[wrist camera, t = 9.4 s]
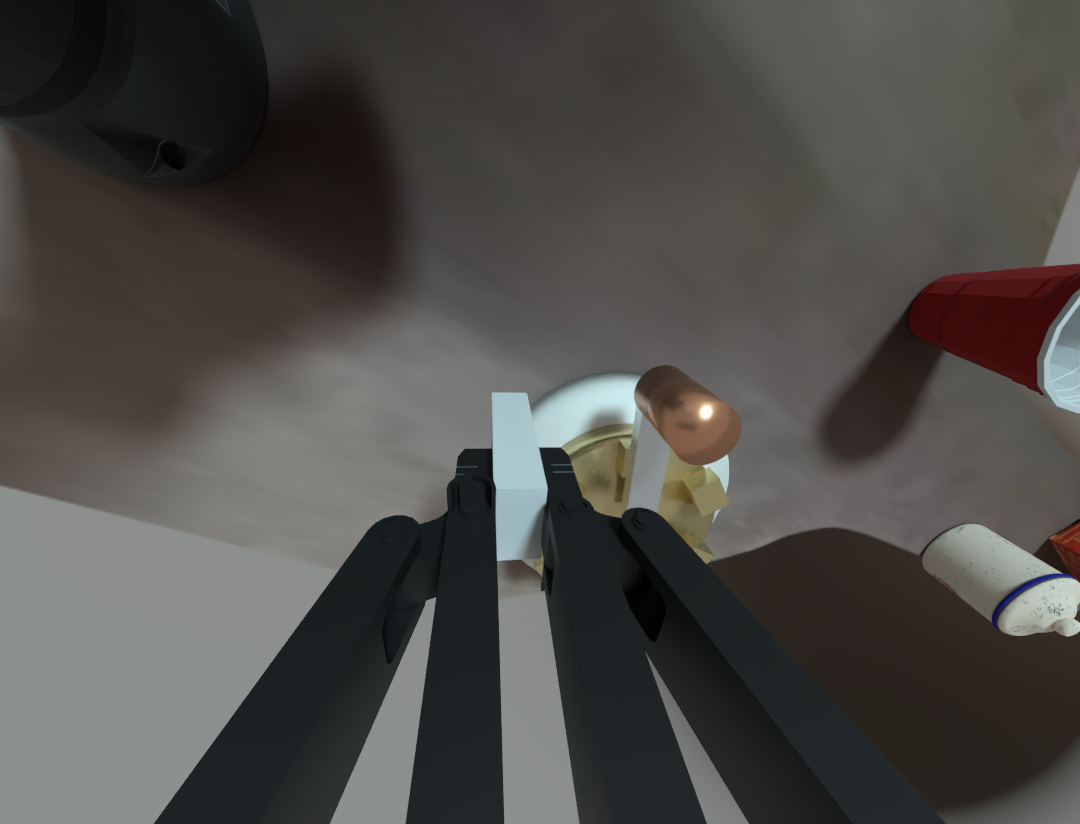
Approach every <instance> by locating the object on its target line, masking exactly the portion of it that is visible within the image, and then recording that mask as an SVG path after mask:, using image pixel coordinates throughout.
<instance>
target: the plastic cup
mask: <svg viewBox="0 0 1080 824" xmlns="http://www.w3.org/2000/svg"><path fill="white" fill-rule="evenodd" d="M908 322H909V328H910V330H911V331H912V333H913V334H914V335H916V336H918V337H919V338H920V339H922V340H924V341H927V342H929V343H931V344H934V345H936V346H938V347H941V348H943V349H945V351H947V352H949V353H951V354H954V355H956V356H959V357H961V358H963V359H966V360H968V361H970V362H973V363H975V364H977V365H980V366H982V367H984V368H987V369H989V370H991V371H994V372H996V373H998V374H1001V375H1003V376H1005V377H1008V378H1010V379H1012V381H1014V382H1017V383H1019V384H1022V385H1024V386H1027V387H1028V389H1031V390H1033V391H1036V392H1039V393H1040V394H1041V395H1043V396H1045V398H1047V400H1048V401H1049V402H1050V403H1052V404H1053V405H1055V406H1058V407H1061V408H1064V409H1067V410H1070V411H1073V412H1076V413H1080V264H1070V265H1057V266H1044V267H1032V268H1019V269H1006V270H998V271H990V272H976V273H962V274H954V275H950V276H943V277H941V278H939V279H937V280H935V281H933V282H932V283H930V284H929V285H928V286H927V287H926V288H925V289H924V290H923V291H921V292H920V294H919V295H918V297H917V298H916V300H915V301H914V303H913V304H912V307H911V310H910V313H909V316H908Z"/></svg>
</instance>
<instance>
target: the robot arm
mask: <svg viewBox="0 0 1080 824" xmlns="http://www.w3.org/2000/svg"><path fill="white" fill-rule="evenodd" d="M266 93H267V75H266V64H265V57H264V51H263V46H262V41H261V37H260V33H259V30H258V26H257V23H256V20H255V17H254V14H253V12H252V9H251V6H250V4H249V1H248V0H0V124H1V125H3V126H5V127H7V128H9V129H11V130H13V131H15V132H17V133H19V134H21V135H23V136H25V137H27V138H29V139H31V140H33V141H34V142H36V143H38V144H40V145H42V146H44V147H46V148H48V149H50V150H52V151H54V152H56V153H58V154H60V155H62V156H64V157H66V158H68V159H70V160H72V161H74V162H76V163H78V164H80V165H83V166H85V167H88V168H90V169H93V170H96V171H99V172H101V173H104V174H107V175H110V176H114V177H118V178H122V179H127V180H132V181H138V182H145V183H151V184H158V185H167V186H186V185H194V184H199V183H203V182H206V181H209V180H212V179H214V178H217V177H219V176H221V175H222V174H224V173H226V172H227V171H229V170H230V169H232V168H233V167H234V166H235V165H236V164H237V163H238V162H239V161H240V160H241V159H242V158H243V157H244V156H245V155H246V153H247V152H248V151H249V149H250V148H251V146H252V144H253V143H254V141H255V139H256V137H257V134H258V132H259V129H260V126H261V123H262V120H263V115H264V111H265V104H266ZM447 504H448V511H447V512H446V513H445V514H444V515H443V516H441V517H439V518H437V519H435V520H433V521H430V522H426V523H423V524H418V522H417V521H415V520H414V519H413V518H411V517H408V516H404V515H395V516H391V517H387V518H384V519H382V520H380V521H378V522H376V523H375V524H374V525H373V526H372V527H371V528H370V529H369V530H368V531H367V532H366V534H365V535H364V537H363V538H362V539H361V541H360V542H359V543H358V545H357V546H356V547H355V549H354V550H353V552H352V553H351V554H350V556H349V557H348V558H347V560H346V561H345V563H344V564H343V565H342V567H341V568H340V569H339V571H338V572H337V574H336V575H335V576H334V578H333V579H332V580H331V582H330V583H329V585H328V586H327V587H326V589H325V590H324V591H323V593H322V594H321V595H320V597H319V598H318V600H317V601H316V602H315V604H314V605H313V606H312V608H311V609H310V611H309V612H308V613H307V615H306V616H305V617H304V619H303V620H302V621H301V623H300V624H299V626H298V627H297V628H296V630H295V631H294V633H293V634H292V635H291V637H290V638H289V639H288V641H287V642H286V643H285V645H284V646H283V648H282V649H281V650H280V652H279V653H278V654H277V656H276V657H275V658H274V660H273V661H272V663H271V664H270V665H269V667H268V668H267V669H266V671H265V672H264V674H263V675H262V676H261V678H260V679H259V680H258V682H257V683H256V685H255V686H254V687H253V689H252V690H251V691H250V693H249V694H248V695H247V697H246V698H245V700H244V701H243V702H242V704H241V705H240V706H239V708H238V709H237V711H236V712H235V714H234V715H233V716H232V718H231V719H230V720H229V722H228V723H227V724H226V726H225V727H224V729H223V730H222V731H221V732H220V734H219V735H218V737H217V738H216V740H215V741H214V742H213V744H212V745H211V746H210V748H209V749H208V750H207V752H206V753H205V755H204V756H203V757H202V759H201V760H200V761H199V763H198V764H197V766H196V767H195V768H194V770H193V771H192V772H191V774H190V775H189V776H188V778H187V779H186V780H185V782H184V783H183V785H182V786H181V787H180V789H179V790H178V791H177V793H176V794H175V795H174V797H173V798H172V800H171V801H170V802H169V804H168V805H167V806H166V808H165V809H164V811H163V812H162V814H161V815H160V816H159V817H158V819H157V820H156V822H155V823H154V824H330V822H331V819H332V817H333V815H334V812H335V810H336V808H337V806H338V803H339V801H340V799H341V796H342V794H343V792H344V790H345V787H346V785H347V783H348V780H349V778H350V776H351V773H352V771H353V769H354V767H355V764H356V762H357V760H358V757H359V755H360V753H361V751H362V748H363V746H364V744H365V741H366V738H367V737H368V734H369V732H370V730H371V728H372V725H373V723H374V720H375V718H376V716H377V714H378V711H379V709H380V707H381V705H382V702H383V700H384V697H385V695H386V693H387V691H388V689H389V686H390V684H391V682H392V679H393V677H394V675H395V672H396V670H397V668H398V666H399V663H400V661H401V659H402V656H403V654H404V652H405V649H406V647H407V645H408V643H409V640H410V638H411V636H412V633H413V631H414V629H415V627H416V624H417V622H418V620H419V617H420V615H421V613H422V611H423V608H424V606H425V602H426V600H429V599H431V598H434V597H436V604H435V612H434V619H433V626H432V634H431V641H430V649H429V656H428V663H427V670H426V678H425V685H424V693H423V700H422V707H421V715H420V722H419V730H418V737H417V744H416V752H415V759H414V767H413V774H412V782H411V789H410V796H409V804H408V811H407V818H406V824H504V804H503V803H504V802H503V800H504V799H503V766H502V764H503V763H502V727H501V690H500V655H499V654H500V653H499V619H498V618H499V617H498V580H497V561H500V560H522V559H541V552H543V558H544V563H543V573H542V583H541V591H544V590H545V593H546V600H547V606H548V613H549V619H550V626H551V634H552V639H553V647H554V654H555V660H556V667H557V674H558V681H559V687H560V694H561V701H562V708H563V714H564V721H565V728H566V735H567V741H568V748H569V754H570V761H571V768H572V775H573V782H574V789H575V795H576V802H577V809H578V816H579V822H580V824H707V823H706V820H705V818H704V815H703V812H702V809H701V807H700V804H699V801H698V798H697V795H696V792H695V790H694V787H693V784H692V782H691V779H690V776H689V773H688V770H687V767H686V765H685V762H684V759H683V756H682V753H681V751H680V748H679V745H678V742H677V739H676V737H675V734H674V731H673V728H672V725H671V723H670V720H669V717H668V714H667V711H666V709H665V706H664V703H663V700H662V697H661V695H660V692H659V689H658V686H657V684H656V681H655V678H654V675H653V672H652V670H651V667H650V664H649V661H648V659H647V656H646V653H647V655H648V656H649V658H650V660H651V661H652V663H653V665H654V666H655V668H656V670H657V671H658V673H659V675H660V676H661V678H662V680H663V681H664V683H665V685H666V686H667V688H668V689H669V691H670V693H671V695H672V696H673V698H674V700H675V701H676V703H677V705H678V706H679V707H680V710H681V711H682V713H683V715H684V716H685V718H686V720H687V721H688V723H689V725H690V726H691V728H692V730H693V731H694V733H695V734H696V736H697V738H698V739H699V741H700V743H701V744H702V746H703V748H704V749H705V751H706V753H707V754H708V756H709V758H710V759H711V761H712V763H713V764H714V766H715V768H716V769H717V771H718V773H719V774H720V776H721V778H722V779H723V781H724V783H725V784H726V786H727V788H728V789H729V791H730V793H731V794H732V796H733V798H734V799H735V801H736V803H737V804H738V806H739V808H740V809H741V811H742V813H743V814H744V816H745V818H746V819H747V821H748V823H749V824H946V823H945V822H944V821H943V820H942V819H941V818H940V817H939V816H938V815H937V814H936V813H935V812H934V810H933V809H932V808H931V807H930V806H929V805H928V804H927V803H926V802H925V801H924V800H923V799H922V797H921V796H920V795H919V794H918V793H917V792H916V791H915V790H914V789H913V788H912V787H911V786H910V784H909V783H908V782H907V781H906V780H905V779H904V778H903V777H902V776H901V775H900V774H899V772H897V770H896V769H895V768H894V767H893V766H892V765H891V764H890V763H889V762H888V761H887V760H886V758H885V757H884V756H883V755H882V754H881V753H880V752H879V751H878V750H877V749H876V748H875V746H874V745H873V744H872V743H871V742H870V741H869V740H868V739H867V738H866V737H865V736H864V735H863V734H862V732H861V731H860V730H859V729H858V728H857V727H856V726H855V725H854V724H853V723H852V722H851V720H850V719H849V718H848V717H847V716H846V715H845V714H844V713H843V712H842V711H841V710H840V709H839V708H838V706H837V705H836V704H835V703H834V702H833V701H832V700H831V699H830V698H829V697H828V696H827V695H826V693H825V692H824V691H823V690H822V689H821V688H820V687H819V686H818V685H817V684H816V683H815V681H814V680H813V679H812V678H811V677H810V676H809V675H808V674H807V673H806V672H805V671H804V670H803V668H802V667H801V666H800V665H799V664H798V663H797V662H796V661H795V660H794V659H793V658H792V657H791V655H790V654H789V653H788V652H787V651H786V650H785V649H784V648H783V647H782V646H781V645H780V644H779V642H778V641H777V640H776V639H775V638H774V637H773V636H772V635H771V634H770V633H769V632H768V630H767V629H766V628H765V627H764V626H763V625H762V624H761V623H760V622H759V621H758V620H757V619H756V617H755V616H754V615H753V614H752V613H751V612H750V611H749V610H748V609H747V608H746V607H745V606H744V605H743V603H742V602H741V601H740V600H739V599H738V598H737V597H736V596H735V595H734V594H733V593H732V591H731V590H730V589H729V588H728V587H727V586H726V585H725V584H724V583H723V582H722V581H721V580H720V578H719V577H718V576H717V575H716V574H715V573H714V572H713V571H712V570H711V569H710V568H709V567H708V565H707V564H706V563H705V562H704V561H703V560H702V559H701V558H700V557H699V556H698V555H697V553H696V552H695V551H694V550H693V549H692V548H691V547H690V546H689V545H688V544H687V543H686V542H685V540H684V539H683V538H682V537H681V536H680V535H679V534H678V533H677V532H676V531H675V530H674V529H673V527H672V526H671V525H670V524H669V523H668V522H667V521H666V520H665V519H664V518H663V517H662V516H661V515H659V514H658V513H656V512H654V511H652V510H650V509H646V508H641V507H638V508H631V509H628V510H626V511H625V512H624V513H623V514H622V517H621V518H619V517H614V516H609V515H605V514H602V513H599V512H597V511H595V510H594V508H593V506H592V505H591V503H590V502H589V501H588V500H586V499H585V498H584V497H583V496H582V493H581V490H580V487H579V484H578V481H577V478H576V475H575V473H574V469H573V466H572V463H571V460H570V457H569V455H568V454H567V453H566V452H565V451H564V450H563V449H562V448H561V447H539V446H538V442H537V437H536V433H535V428H534V423H533V419H532V414H531V410H530V405H529V401H528V396H527V393H493V392H492V425H491V449H464V450H463V451H462V453H461V454H460V455H459V456H458V460H457V468H456V475H455V478H454V479H453V480H452V481H451V482H449V484H448V487H447ZM645 651H646V653H645Z"/></svg>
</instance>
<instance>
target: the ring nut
mask: <svg viewBox="0 0 1080 824" xmlns="http://www.w3.org/2000/svg"><path fill="white" fill-rule="evenodd" d="M634 400H635V404H636V411H635V418H634V424H632V423H623V424H612V425H607V426H602V427H599V428H596V429H593V430H590V431H587V432H585V433H583V434H581V435H578V436H577V437H575V438H573V439H572V440H570V441H568V442H567V443H565V444H564V445H563V446H561V448H562V449H563V450H564V451H565V452H566V453H567V454H568V455H569V457H570V460H571V463H572V466H573V469H574V473H575V475H576V478H577V481H578V484H579V487H580V490H581V493H582V496H583V497H584V498H585V499H586V500H588V501H589V502H590V503H591V505H592V506H593V508H594V510H595V511H597V512H599V513H602V514H605V515H609V516H614V517H619V518H621V517H622V514H623V513H624V512H625V511H626V510H628V509H631V508H638V507H641V508H646V509H650V510H652V511H654V512H656V513H658V514H659V515H661V516H662V517H663V518H664V519H665V520H666V521H667V522H668V523H669V524H670V525H671V526H672V527H673V529H674V530H675V531H676V532H677V533H678V534H679V535H680V536H681V537H682V538H683V539H684V540H685V542H686V543H687V544H688V545H689V546H690V547H691V548H692V549H693V550H694V551H695V552H696V553H697V555H698V556H699V557H700V558H701V559H702V560H703V561H704V562H705V563H706V564H707V563H708V562H709V561H710V560H711V559H712V558H713V557H714V555H713V553H712V552H711V551H710V549H709V548H708V546H707V545H706V543H705V542H702V541H703V540H704V538H705V537H706V535H707V533H708V531H709V529H710V527H711V524H712V521H713V519H714V514H715V511H717V510H719V509H721V508H723V507H725V506H727V505H729V501H728V498H727V496H726V493H725V491H724V488H723V486H722V483H721V481H720V478H719V477H718V476H717V475H716V474H715V473H714V472H713V470H712V469H711V468H710V467H708V468H706V469H705V468H704V467H703V465H707V464H710V463H713V462H716V461H718V460H720V459H721V458H723V457H724V456H726V455H727V454H728V453H729V452H730V451H731V450H732V449H733V447H734V446H735V445H736V443H737V441H738V439H739V436H740V433H741V421H740V417H739V415H738V414H737V412H736V411H735V410H734V409H733V408H731V407H730V406H729V405H727V404H726V403H724V402H723V401H722V400H720V399H719V398H718V397H716V396H715V395H713V394H712V393H711V392H709V391H708V390H707V389H705V388H704V387H703V386H701V385H700V384H698V383H697V382H696V381H694V380H693V379H692V378H690V377H689V376H688V375H686V374H685V373H683V372H682V371H681V370H679V369H678V368H676V367H673V366H669V365H662V366H658V367H655V368H652V369H650V370H649V371H647V372H646V373H641V377H640V379H639V381H638V383H637V385H636V387H635V391H634ZM533 560H534V568H535V569H536V570H537V572H538V573H539V574H540V575H541V577H542V573H543V563H544V558H543V552H541V559H533Z"/></svg>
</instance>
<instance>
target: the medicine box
mask: <svg viewBox="0 0 1080 824" xmlns="http://www.w3.org/2000/svg"><path fill="white" fill-rule="evenodd" d="M1049 540H1050V542H1051V543H1052V545H1053V546H1054V548H1055V550H1056V551H1057V553H1058V554H1059V556H1060V558H1061V559H1062V561H1063V562H1064V564H1065V566H1066V567H1067V569H1068V570H1069V572H1070V574H1071V575H1072V577H1074V578H1075V579H1076V580H1077V581H1078V582H1079V583H1080V522H1078V523H1076V524H1075V525H1069V526H1068V527H1066V528H1064V529H1063V530H1061V531H1060V532H1058V533H1057V534H1055V535H1053V536H1051V537H1050V538H1049Z"/></svg>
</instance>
